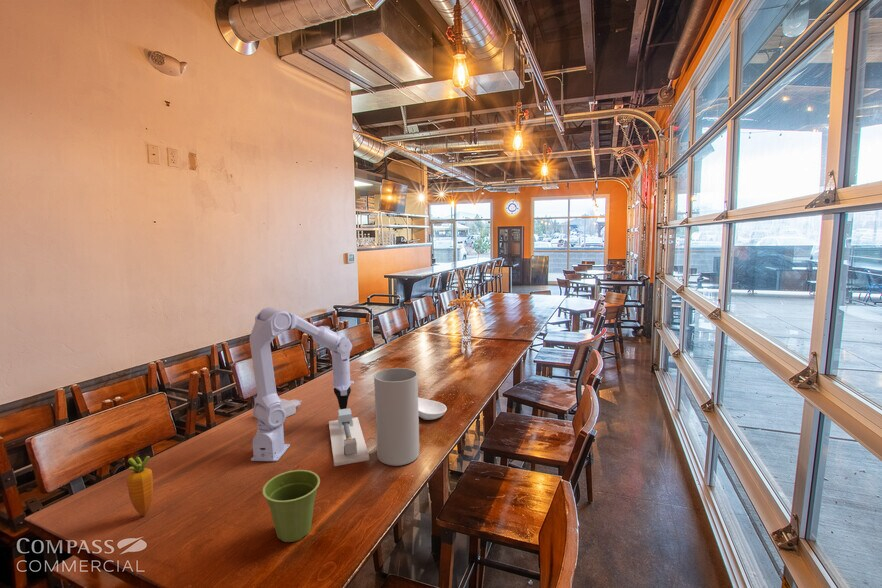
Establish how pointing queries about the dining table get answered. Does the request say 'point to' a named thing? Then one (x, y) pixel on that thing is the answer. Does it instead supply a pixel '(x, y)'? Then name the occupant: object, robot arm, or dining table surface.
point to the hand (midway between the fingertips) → (343, 408)
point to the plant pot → (292, 502)
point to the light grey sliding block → (345, 417)
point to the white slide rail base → (347, 443)
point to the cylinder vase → (397, 416)
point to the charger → (290, 406)
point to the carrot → (140, 485)
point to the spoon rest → (430, 409)
